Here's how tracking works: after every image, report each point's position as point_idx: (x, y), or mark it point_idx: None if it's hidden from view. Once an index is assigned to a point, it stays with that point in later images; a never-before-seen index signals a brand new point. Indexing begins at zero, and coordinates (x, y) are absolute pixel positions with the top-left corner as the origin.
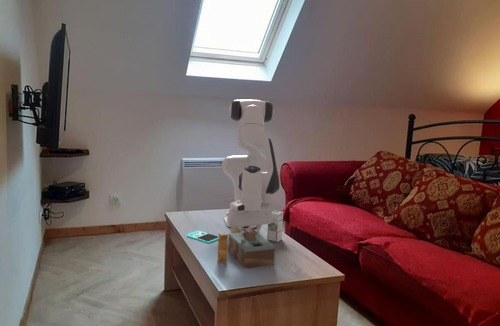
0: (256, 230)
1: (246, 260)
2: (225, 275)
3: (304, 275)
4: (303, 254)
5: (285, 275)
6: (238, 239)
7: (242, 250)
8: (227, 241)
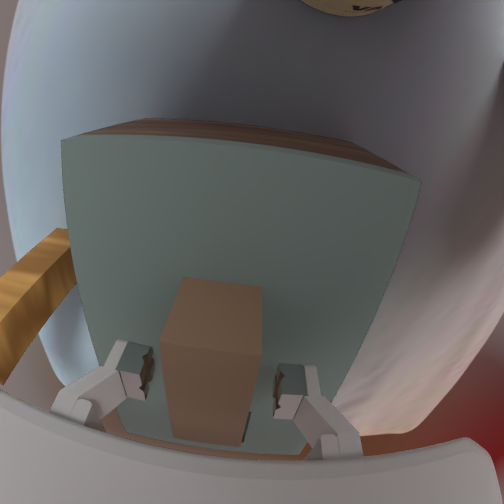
0: (293, 409)
1: None
2: (75, 341)
3: None
4: (487, 308)
5: None
6: (108, 324)
7: None
8: (25, 350)
